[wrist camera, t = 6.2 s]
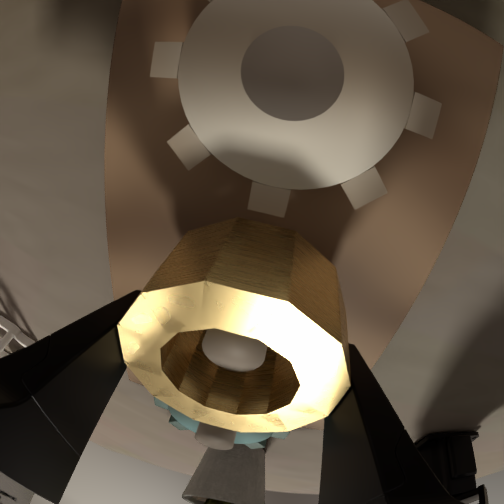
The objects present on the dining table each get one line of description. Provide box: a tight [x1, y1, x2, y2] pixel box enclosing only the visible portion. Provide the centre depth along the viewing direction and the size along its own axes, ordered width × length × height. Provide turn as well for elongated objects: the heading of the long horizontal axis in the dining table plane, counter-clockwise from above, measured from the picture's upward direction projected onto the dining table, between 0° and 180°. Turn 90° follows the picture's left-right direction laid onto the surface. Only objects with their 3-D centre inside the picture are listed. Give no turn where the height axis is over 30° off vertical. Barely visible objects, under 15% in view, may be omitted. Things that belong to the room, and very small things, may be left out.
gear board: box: [105, 0, 504, 450], centre depth 11 cm, size 22×13×6 cm, turn 170°
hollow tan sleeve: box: [117, 217, 351, 432], centre depth 9 cm, size 6×6×3 cm
